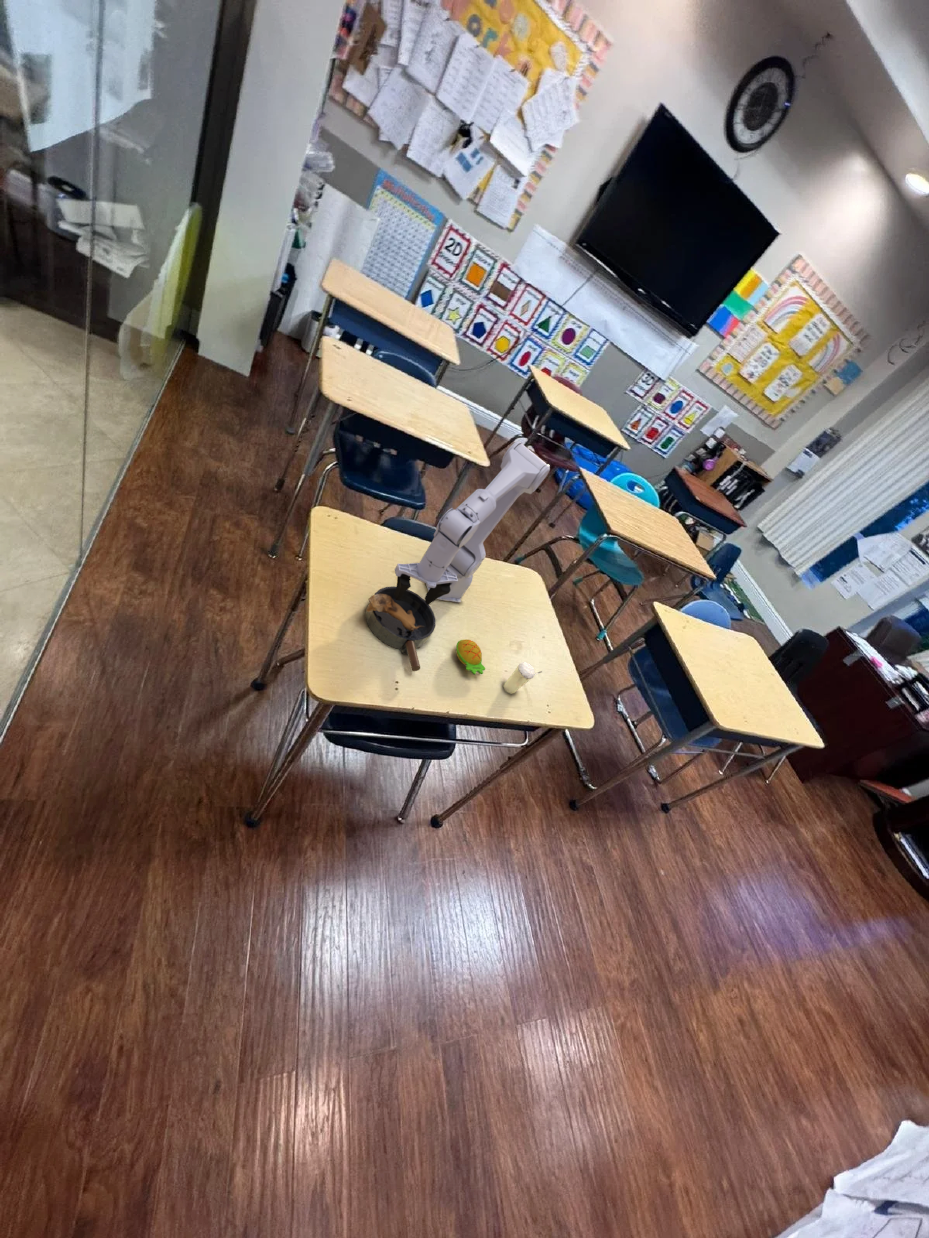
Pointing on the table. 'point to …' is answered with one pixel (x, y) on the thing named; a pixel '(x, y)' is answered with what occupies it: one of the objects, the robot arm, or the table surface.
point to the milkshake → (519, 677)
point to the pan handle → (411, 655)
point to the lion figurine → (392, 610)
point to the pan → (393, 629)
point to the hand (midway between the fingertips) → (411, 599)
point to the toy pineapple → (470, 655)
